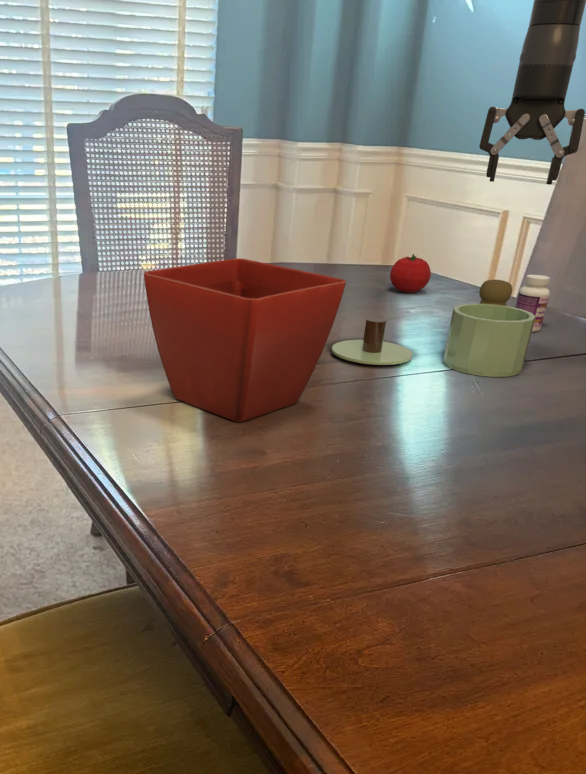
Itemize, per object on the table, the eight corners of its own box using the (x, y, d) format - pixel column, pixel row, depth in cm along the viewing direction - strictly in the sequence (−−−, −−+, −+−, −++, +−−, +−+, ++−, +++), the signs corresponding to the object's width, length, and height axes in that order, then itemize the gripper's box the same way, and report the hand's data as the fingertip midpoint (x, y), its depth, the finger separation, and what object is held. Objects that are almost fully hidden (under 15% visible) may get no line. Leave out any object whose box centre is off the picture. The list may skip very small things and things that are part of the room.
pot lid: (367, 342, 135) (372, 306, 132) (427, 360, 126) (434, 323, 123) (314, 353, 128) (319, 316, 125) (374, 373, 119) (380, 334, 116)
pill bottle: (537, 334, 143) (551, 280, 138) (507, 329, 145) (520, 276, 141) (542, 328, 147) (556, 276, 142) (513, 324, 149) (526, 272, 145)
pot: (472, 351, 132) (483, 300, 128) (536, 369, 124) (550, 315, 119) (428, 361, 126) (438, 309, 121) (492, 381, 117) (505, 325, 113)
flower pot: (334, 404, 107) (350, 278, 98) (242, 438, 95) (252, 298, 87) (232, 371, 118) (239, 256, 110) (139, 398, 107) (139, 272, 98)
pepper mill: (507, 350, 133) (522, 284, 127) (472, 349, 133) (486, 283, 127) (494, 341, 138) (509, 277, 132) (461, 340, 138) (474, 276, 132)
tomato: (384, 286, 177) (389, 250, 173) (422, 288, 177) (428, 251, 173) (391, 295, 170) (397, 257, 166) (431, 296, 169) (438, 258, 166)
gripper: (595, 64, 115) (566, 183, 123) (495, 63, 119) (473, 178, 127) (601, 62, 109) (570, 187, 117) (495, 61, 113) (472, 182, 121)
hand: (519, 182), depth 122 cm, fingers open, 8 cm apart
